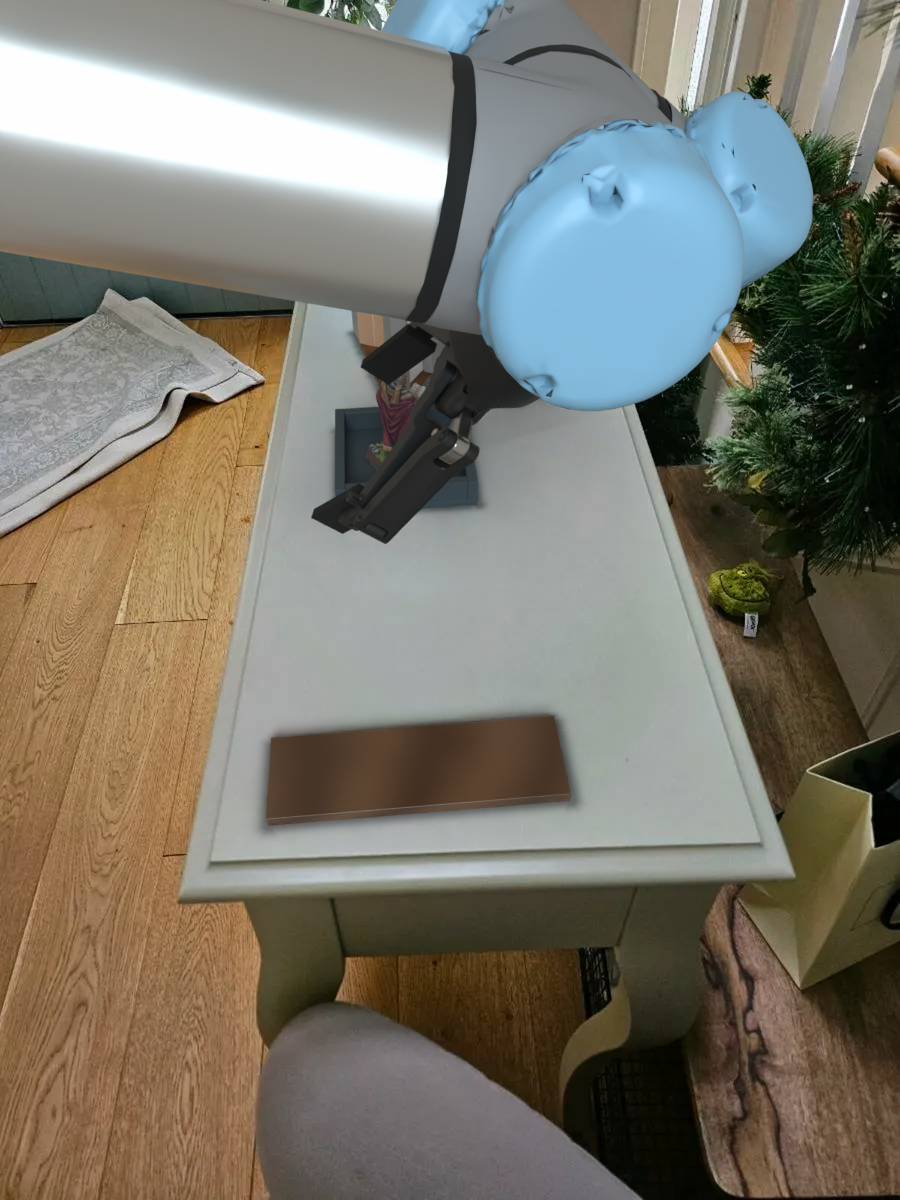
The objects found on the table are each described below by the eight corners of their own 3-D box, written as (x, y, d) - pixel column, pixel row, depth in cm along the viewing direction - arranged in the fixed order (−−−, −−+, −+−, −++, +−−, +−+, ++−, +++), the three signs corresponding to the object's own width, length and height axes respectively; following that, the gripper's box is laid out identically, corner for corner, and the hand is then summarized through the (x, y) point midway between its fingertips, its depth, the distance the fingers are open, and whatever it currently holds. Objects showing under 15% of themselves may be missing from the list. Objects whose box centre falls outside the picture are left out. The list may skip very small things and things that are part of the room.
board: (267, 826, 62) (265, 819, 61) (273, 744, 66) (271, 737, 66) (569, 801, 63) (570, 793, 62) (553, 723, 68) (554, 715, 67)
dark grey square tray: (337, 514, 85) (334, 490, 83) (337, 431, 95) (335, 408, 93) (477, 505, 86) (478, 481, 84) (463, 424, 96) (463, 401, 94)
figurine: (394, 488, 87) (387, 386, 78) (362, 455, 91) (353, 354, 82) (447, 467, 89) (446, 365, 80) (414, 435, 93) (410, 335, 84)
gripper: (545, 544, 46) (350, 611, 63) (616, 203, 55) (429, 341, 72) (434, 479, 42) (259, 569, 59) (530, 125, 51) (355, 290, 68)
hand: (352, 444), depth 65 cm, fingers open, 13 cm apart
